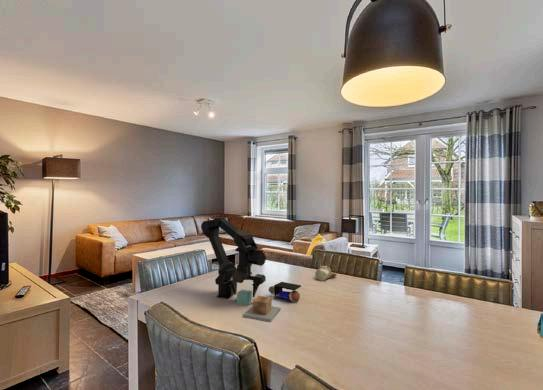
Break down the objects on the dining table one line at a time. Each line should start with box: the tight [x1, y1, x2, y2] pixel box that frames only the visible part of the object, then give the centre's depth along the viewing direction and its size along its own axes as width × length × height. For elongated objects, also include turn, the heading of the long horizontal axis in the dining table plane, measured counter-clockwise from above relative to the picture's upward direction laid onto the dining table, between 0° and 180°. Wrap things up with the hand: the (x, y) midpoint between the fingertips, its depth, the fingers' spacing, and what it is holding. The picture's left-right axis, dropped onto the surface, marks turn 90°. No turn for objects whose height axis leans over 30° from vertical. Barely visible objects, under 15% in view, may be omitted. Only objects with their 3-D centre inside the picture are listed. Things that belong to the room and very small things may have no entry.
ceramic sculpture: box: [314, 263, 338, 282], centre depth 168 cm, size 11×9×15 cm
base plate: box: [242, 305, 282, 323], centre depth 119 cm, size 12×12×1 cm
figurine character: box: [268, 281, 302, 303], centre depth 135 cm, size 7×8×15 cm
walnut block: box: [252, 295, 272, 315], centre depth 119 cm, size 6×6×5 cm
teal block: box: [236, 288, 253, 306], centre depth 130 cm, size 5×5×5 cm
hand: (244, 295), depth 130 cm, fingers open, 9 cm apart
